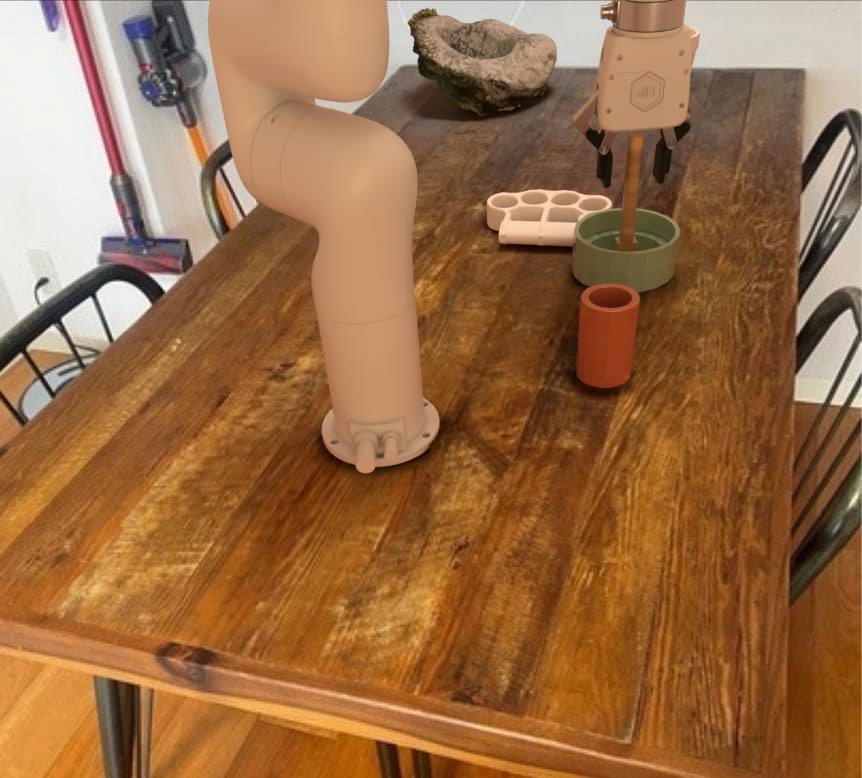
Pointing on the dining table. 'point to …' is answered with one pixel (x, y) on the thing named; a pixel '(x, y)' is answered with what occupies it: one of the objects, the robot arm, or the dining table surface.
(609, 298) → the crock
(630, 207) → the paddle
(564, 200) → the white brass knuckles
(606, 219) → the bowl
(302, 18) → the robot arm
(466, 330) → the dining table surface
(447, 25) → the stone basin
